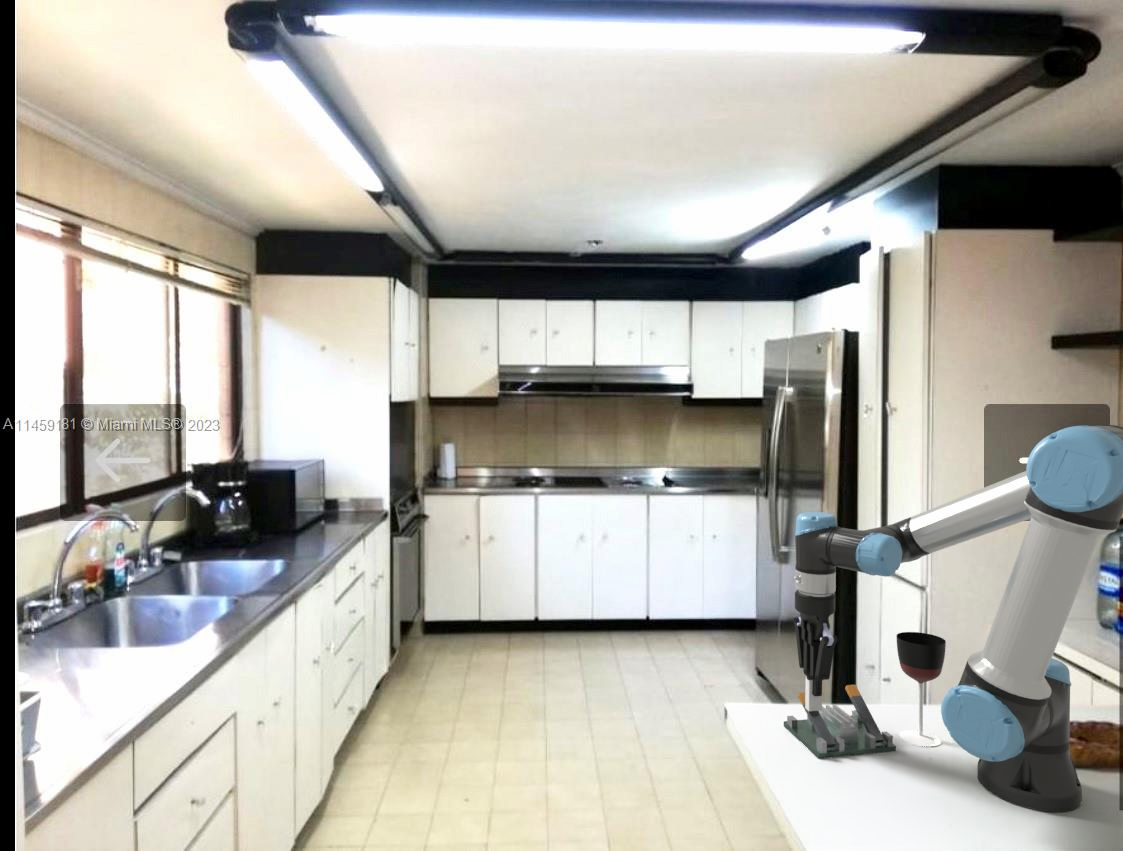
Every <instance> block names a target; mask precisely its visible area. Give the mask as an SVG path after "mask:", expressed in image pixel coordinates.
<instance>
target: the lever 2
mask: <svg viewBox="0 0 1123 851" xmlns="http://www.w3.org/2000/svg"><path fill="white" fill-rule="evenodd" d="M844 689H845V692H846V693H847V695H848V697H849V700H850V701H851V703H852V705H853V706H854V710H856V711H857V713H858V715H859V717H860V719H861V721H862V723H863V725H864V727H865V729H866V730H867V732H868V733H870V734H871V735H873V736H874V737H875V738H876V743H882V742H883V741H884V738H883V736H882V731H881V730H880V729H879V726H878V725H877V723H876V721H875V719H874V716H873V715H872V713H871V711H870V709H869V707H868V706H867V703H866V702H865V700H864V698H863V696H862V694H861V693H860V691H859V688H858V687H857V685H856V684H847V685H846V686H845V688H844Z"/></svg>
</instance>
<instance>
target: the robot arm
mask: <svg viewBox="0 0 1123 851" xmlns="http://www.w3.org/2000/svg"><path fill="white" fill-rule="evenodd" d="M1025 468H1026V469H1025V471H1023V472H1020V473H1017V474H1015V475H1012V476H1010V477H1007V478H1004V479H1002V480H1000V481H998V482H995V483H992V484H990V485H987V486H985V487H983V488H980V489H978V490H975V491H973V492H969V493H967V494H965V495H963V496H960V497H958V498H955V499H952V500H950V501H947V502H945V503H942V504H940V505H937V506H936V507H933V508H930V509H927V510H926V511H922V512H920V513H918V514H915V515H913V516H910V517H907V518H904V519H902V520H900V521H897V522H894V523H892V524H889V525H884V526H879V527H873V528H870V529H865V530H862V529H861V530H860V529H852V528H846V527H841V526H838V523H837V521H838V520H837V517H836V516H835V515H834V514H832V513H829V512H823V511H822V512H820V511H807V512H806V511H805V512H801V513H799V514H798V515H797V517H796V522H795V524H796V525H795V533H794V537H795V543H794V544H795V564H794V565H795V574H794V577H793V578H794V579H793V580H794V582H795V584H794V585H795V587H794V588H795V589H796V591H795V592H794V609H795V610H796V611H797V612H798V613H799V617H797V616H796V617H793V620H792V621H793V625H794V628H795V637H796V645H797V646H796V648H797V657H798V658H797V659H798V665H799V668H800V669H803V674H804V675H805V688H804V689H805V691H804V693H805V708H806V709H807V710H808V711H821V710H822V706H823V681H824V680H825V681H826V680H830V677H831V671H832V665H833V659H834V658H833V657H834V654H835V653H834V652H835V647H836V644H837V643H838V637H837V636H836V635H832V634H831V630H830V628H831V625H830V621H829V620H830V619H829V617H831V616H832V615H833V614H834V613H835V612H836V595H835V594H834V593H835V592H836V588H837V585H836V583H837V581H836V580H837V579H836V578H837V577H836V576H837V575H836V574H837V572H836V571H837V570H836V568H841V569H844V570H845V569H846V570H850V571H854V572H858V573H859V572H860V573H863V574H866V575H869V576H881V577H892V576H893V575H895V573H896V571H897V570H899V568H900V566H901V564H903V563H904V564H905V563H910V562H915V561H917V560H919V559H921V558H922V557H924V556H928V555H930V554H933V553H936V552H938V551H942V550H945V549H947V548H950V547H953V546H956V545H958V544H962V543H964V542H967V541H970V540H973V539H976V538H979V537H982V536H984V535H987V534H991V533H993V532H996V531H999V530H1001V529H1005V528H1007V527H1010V526H1013V525H1016V524H1019V523H1022V522H1025V521H1027V520H1029V523H1028V525H1027V527H1026V531H1025V534H1024V537H1023V539H1022V542H1021V545H1020V548H1019V550H1018V553H1017V556H1016V557H1015V558H1016V559H1015V562H1014V563H1013V564H1014V565H1013V566H1012V570H1011V572H1010V575H1009V578H1008V580H1007V584H1006V587H1005V589H1004V592H1003V594H1002V597H1001V600H1000V603H999V605H998V608H997V611H996V614H995V617H994V619H993V621H992V624H991V627H990V630H989V632H988V635H987V638H986V641H985V644H984V647H983V649H982V650H980V651H978V652H974V653H971V654H970V655H969V656H968V659H967V661H966V664H965V666H964V669H963V672H962V674H961V676H960V681H959V683H958V684H957V685H956V686H953V687H952V688H950V689H949V690H948V692H947V693H946V694H945V696H944V697H943V700H942V701H941V706H940V707H941V708H940V709H941V710H940V713H941V714H940V715H941V718H942V722H943V725H944V727H946V729H947V731H948V732H949V736H950V737H951V738H952V740H953V741H954V742H955V743H956V744H957V745H958V746H959V747H960V748H962V749H963V750H964V751H965V752H966V753H968V754H970V755H972V756H973V757H975V758H978V762H977V765H976V767H977V768H976V770H977V772H976V773H977V774H976V777H977V780H978V782H979V784H980V785H981V786H982V787H983V788H984V789H985V790H987V791H988V792H989V793H991V794H993V795H995V797H996V796H997V797H998V798H1000V799H1002V800H1005V801H1007V802H1009V803H1012V804H1014V805H1017V806H1021V807H1024V808H1027V809H1033V810H1038V811H1043V812H1056V813H1057V812H1068V811H1073V810H1075V809H1078V808H1079V807H1080V806H1081V805H1082V803H1083V787H1082V784H1081V781H1080V779H1079V778H1078V772H1077V770H1076V766H1075V764H1074V761H1073V758H1072V756H1071V752H1070V751H1071V750H1070V738H1071V737H1070V736H1071V735H1070V729H1071V728H1070V727H1071V724H1070V723H1071V721H1070V720H1071V719H1070V718H1071V717H1070V716H1071V711H1070V710H1071V687H1072V682H1071V677H1070V669H1069V667H1068V666H1067V665H1066V664H1065V663H1064V662H1062V661H1061V660H1058V659H1056V658H1053V656H1054V654H1055V651H1056V649H1057V645H1058V643H1059V640H1060V638H1061V635H1062V633H1063V631H1064V627H1065V625H1066V623H1067V620H1068V617H1069V615H1070V612H1071V610H1072V607H1073V605H1074V603H1075V599H1076V597H1077V595H1078V593H1079V589H1080V587H1081V584H1082V582H1083V579H1084V577H1085V575H1086V571H1087V570H1088V567H1089V564H1090V561H1091V560H1092V556H1093V554H1094V551H1095V549H1096V546H1097V543H1098V541H1099V539H1100V538H1101V537H1102V536H1106V535H1108V534H1111V533H1115V532H1117V528H1118V527H1119V524H1120V522H1121V520H1122V519H1121V518H1122V517H1123V426H1119V425H1115V424H1102V425H1074V426H1069V427H1065V428H1062V429H1060V430H1057V431H1054V432H1053V433H1050V434H1049V435H1046V436H1045V437H1044V438H1042V439H1041V440H1040V441H1039V442H1038V443H1037V444H1035V446H1034V448H1032V450H1031V452H1030V454H1029V456H1028V459H1027V463H1026V467H1025ZM1081 802H1082V803H1081ZM1080 804H1081V805H1080ZM1077 807H1078V808H1077Z"/></svg>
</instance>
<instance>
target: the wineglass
mask: <svg viewBox="0 0 1123 851" xmlns="http://www.w3.org/2000/svg"><path fill="white" fill-rule="evenodd" d="M946 645H947V644H946V640H945V639H944V638H943V637H941V636H938V635H935V634H931V633H926V632H917V631H916V632H915V631H905V632H904V631H903V632H898V633H897V634H896V650H897V651H896V652H897V656H898V661H899V665H900V668H901V670H902V672H903V673H904V674H905V675H906V676H908V677H909V678H911V679H913V680H914V681H915V682H917V683H918V693H917V694H918V695H917V696H918V697H917V698H918V706H917V707H918V708H917V709H918V713H917V714H918V718H917V720H918V721H917V723H918V730H917V729H906V730H902V731H901V732H900V733H899V737H900V739H901V740H903V741H904V742H906V743H908V744H909V745H912V746H917V747H921V746H923V747H922V748H927V747H926V746H927V745H928V746H930V745H931V744H935V742H934V739H936V738H934V737H933V736H932V735H931V734H932V733H931V734H928V733H929V732H928V733H926V732H927V731H924V730H923V727H924V724H923V719H924V718H923V717H924V716H923V715H924V713H923V711H924V710H923V709H924V706H923V705H924V696H923V694H924V693H923V692H924V688H923V686H924V685H923V684H925V683H926V682H931V681H933V680H936V678H937V679H938V678H939V676H941V674H942V671H943V667H944V662H945V657H946V656H945V655H946V647H947V646H946ZM907 730H908V731H907ZM923 731H924V732H923ZM924 746H925V747H924Z"/></svg>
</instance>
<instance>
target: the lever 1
mask: <svg viewBox="0 0 1123 851" xmlns="http://www.w3.org/2000/svg"><path fill="white" fill-rule="evenodd" d="M797 698H798V699H799V702H800V703H801V705H802V707H803V709H804V711H805V713H806V716H807V715H808V717H809V719H810V721H811V723H812V724H813V726H814V728H815V730H816V732H817V734H818V736H819V738H820V737H821V738H823V739H824V740H825V741H826V742H827V748H832V747H835V745H836V743H835V741H834V739H833V737H832V736H831V734H830V732H829V730H828V728H827V726H826V724H825V723H824V721H823V719H822V717H821V715H820V713H819V711H808V710H807V709H806V708H805V692H798V695H797Z"/></svg>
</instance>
